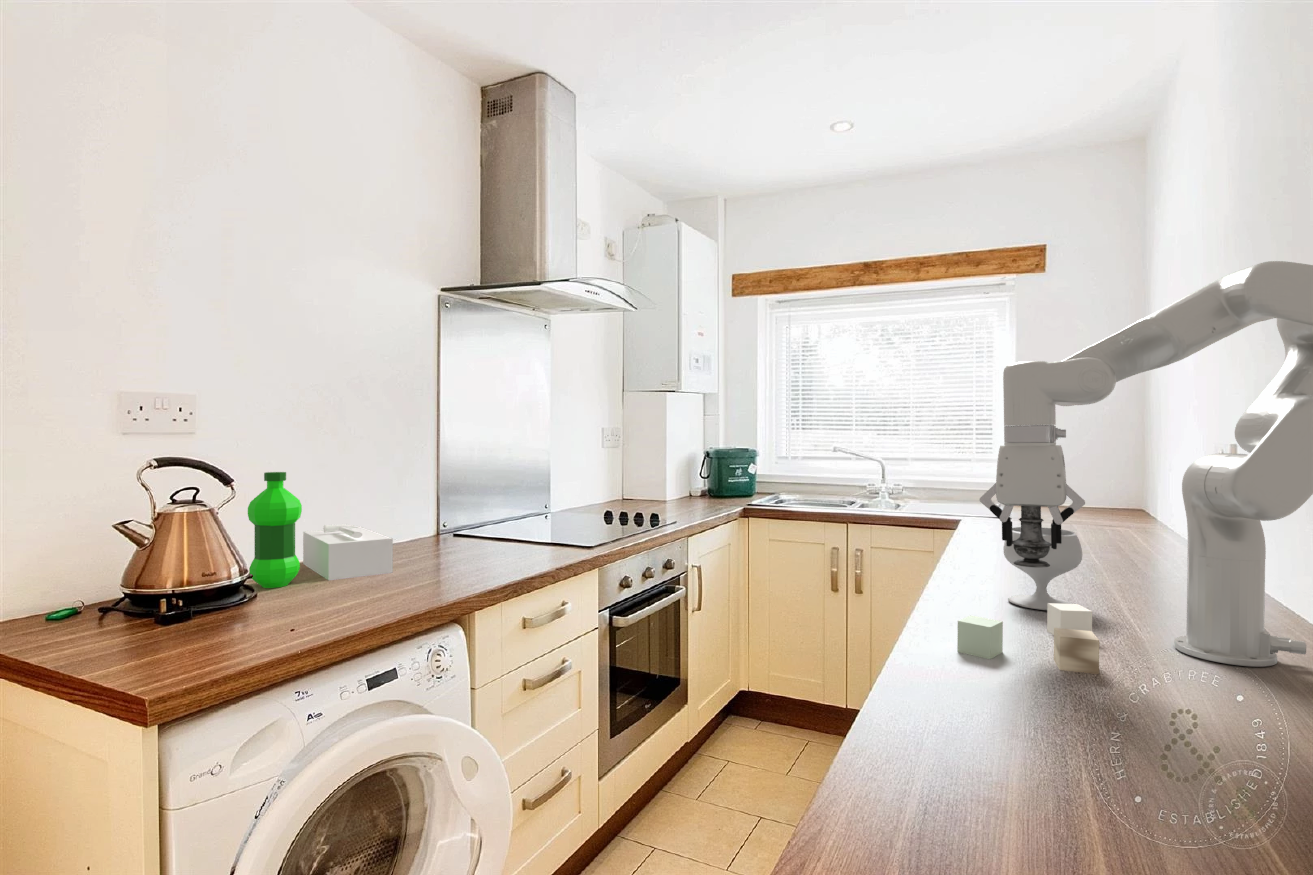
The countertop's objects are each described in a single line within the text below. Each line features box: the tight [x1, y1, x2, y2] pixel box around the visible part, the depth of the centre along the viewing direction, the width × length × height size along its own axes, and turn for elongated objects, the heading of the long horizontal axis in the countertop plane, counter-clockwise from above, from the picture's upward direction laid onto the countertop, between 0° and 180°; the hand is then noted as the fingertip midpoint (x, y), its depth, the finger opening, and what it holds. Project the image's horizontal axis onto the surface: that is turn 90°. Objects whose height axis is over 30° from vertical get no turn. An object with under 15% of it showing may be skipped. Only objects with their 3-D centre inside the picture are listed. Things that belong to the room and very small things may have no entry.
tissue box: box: [302, 523, 394, 581], centre depth 175 cm, size 14×25×11 cm, turn 39°
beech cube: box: [1053, 628, 1100, 675], centre depth 104 cm, size 5×5×5 cm
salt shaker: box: [1012, 506, 1051, 567], centre depth 115 cm, size 6×6×12 cm
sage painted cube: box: [956, 614, 1004, 660], centre depth 111 cm, size 5×5×5 cm
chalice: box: [1003, 526, 1083, 611], centre depth 142 cm, size 14×14×15 cm
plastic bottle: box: [247, 471, 303, 589], centre depth 155 cm, size 10×10×25 cm
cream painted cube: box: [1046, 603, 1093, 636], centre depth 120 cm, size 5×5×5 cm
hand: (1031, 545), depth 115 cm, fingers closed on salt shaker, 5 cm apart
